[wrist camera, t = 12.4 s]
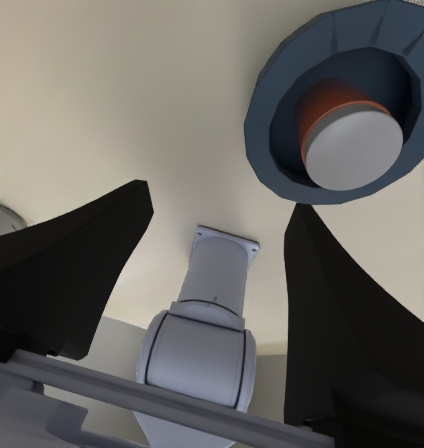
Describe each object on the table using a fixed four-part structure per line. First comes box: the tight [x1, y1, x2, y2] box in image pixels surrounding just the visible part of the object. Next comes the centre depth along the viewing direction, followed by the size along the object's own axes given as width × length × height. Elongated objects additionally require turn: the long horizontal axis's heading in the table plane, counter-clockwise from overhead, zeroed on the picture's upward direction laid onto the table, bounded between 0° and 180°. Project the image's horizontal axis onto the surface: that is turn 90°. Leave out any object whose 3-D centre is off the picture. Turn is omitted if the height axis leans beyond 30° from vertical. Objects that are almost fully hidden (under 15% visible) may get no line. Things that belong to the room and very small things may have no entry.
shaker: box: [294, 77, 403, 191], centre depth 12 cm, size 4×4×7 cm
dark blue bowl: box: [244, 0, 424, 205], centre depth 13 cm, size 10×10×5 cm
